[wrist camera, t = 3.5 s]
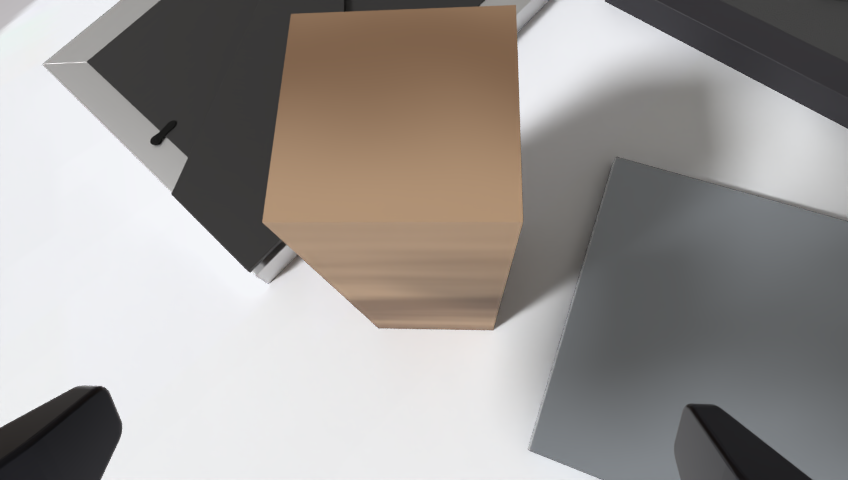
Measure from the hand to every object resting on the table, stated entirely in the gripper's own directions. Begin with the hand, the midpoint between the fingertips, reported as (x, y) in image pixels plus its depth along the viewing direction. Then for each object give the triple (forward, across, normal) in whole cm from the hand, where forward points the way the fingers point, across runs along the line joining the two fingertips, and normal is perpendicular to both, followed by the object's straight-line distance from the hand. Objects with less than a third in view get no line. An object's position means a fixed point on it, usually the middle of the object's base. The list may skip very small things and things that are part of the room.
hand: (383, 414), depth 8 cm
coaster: (+10, -11, +6) cm, 16 cm away
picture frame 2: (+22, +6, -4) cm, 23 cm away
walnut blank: (+12, 0, +5) cm, 13 cm away
